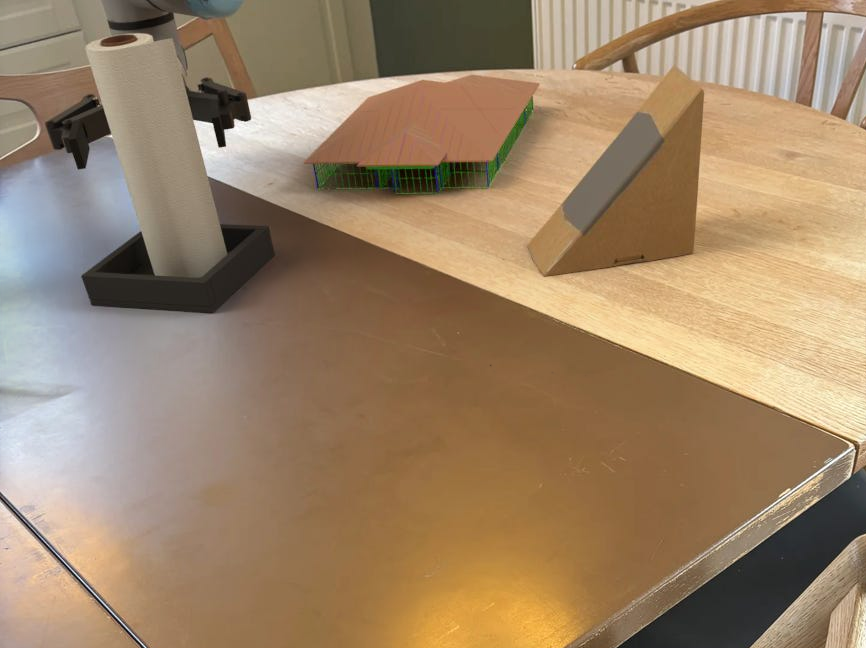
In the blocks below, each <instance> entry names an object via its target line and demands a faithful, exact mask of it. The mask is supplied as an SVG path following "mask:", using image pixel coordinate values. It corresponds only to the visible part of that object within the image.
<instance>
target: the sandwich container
mask: <svg viewBox="0 0 866 648" xmlns="http://www.w3.org/2000/svg"><path fill="white" fill-rule="evenodd" d="M704 99H705V91H704V89H703V88H702V87H701V86H700V85H698V83H696V82H695V81H694V80H693V79H692V78H690V76H689V75H687V73H685V72H684V71H683V70H682V69H680V68H679V67H678V66H677V65H675V64H674V65H673V66H672V67H671V68H670V69H669V70H668V71H667V73H666V74H665V75H664V77H662V79H661V80H660V82H659V83H658V84H657V85H656V87H655V88H654V89H653V90H652V92H651V93H650V95H649V96H648V97H647V98H646V99H645V101H644V102H643V103H642V105H641V106H640V107H639V109H638V110H637V111H636V112H635V113H634V115H633V116H632V117H631V119H629V121H628V122H627V123H626V125H625V126H624V128H622V130H621V131H619V133H618V135H617V136H616V138H615V139H613V141H612V142H611V143H610V144H609V146H607V148H606V149H605V150H604V152H603V153H602V154H601V155H600V156H599V157H598V159H597V160H596V161H595V163H593V165H592V166H591V168H590V169H589V170H588V171H587V172H586V173H585V175H584V176H583V177H582V178H581V180H580V181H579V182H578V183H577V184H576V186H575V187H574V188H573V189H572V191H571V192H570V193H569V194H568V196H567V197H566V198H565V200H564V201H562V203H561V204H560V205H559V207H558V208H557V209H556V210H555V211H554V213H553V214H552V215H551V216H550V217H549V218H548V220H546V222H545V223H544V224H543V225H542V226H541V228H539V230H538V231H537V233H536V234H535V235H534V236H533V237H532V239H531V240H530V241H529V242H528V243H527V244H526V246H527V248H528V251H529V253H530V255H531V259H532V260H533V262H534V263H535V265H536V266H537V268H538V269H539V270H540V272H541V274H542V275H543V276H544V277H547V276H548V277H549V276H555V275H562V274H569V273H576V272H584V271H592V270H599V269H605V268H612V267H617V266H622V265H630V264H636V263H642V262H651V261H656V260H662V259H663V260H664V259H669V258H674V257H680V256H685V255H691V254H694V252H695V251H694V250H695V239H696V237H695V236H696V225H697V224H696V223H697V222H696V221H697V208H698V194H699V179H700V166H701V165H700V164H701V149H702V147H701V146H702V132H703V119H704V102H705V100H704Z"/></svg>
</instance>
